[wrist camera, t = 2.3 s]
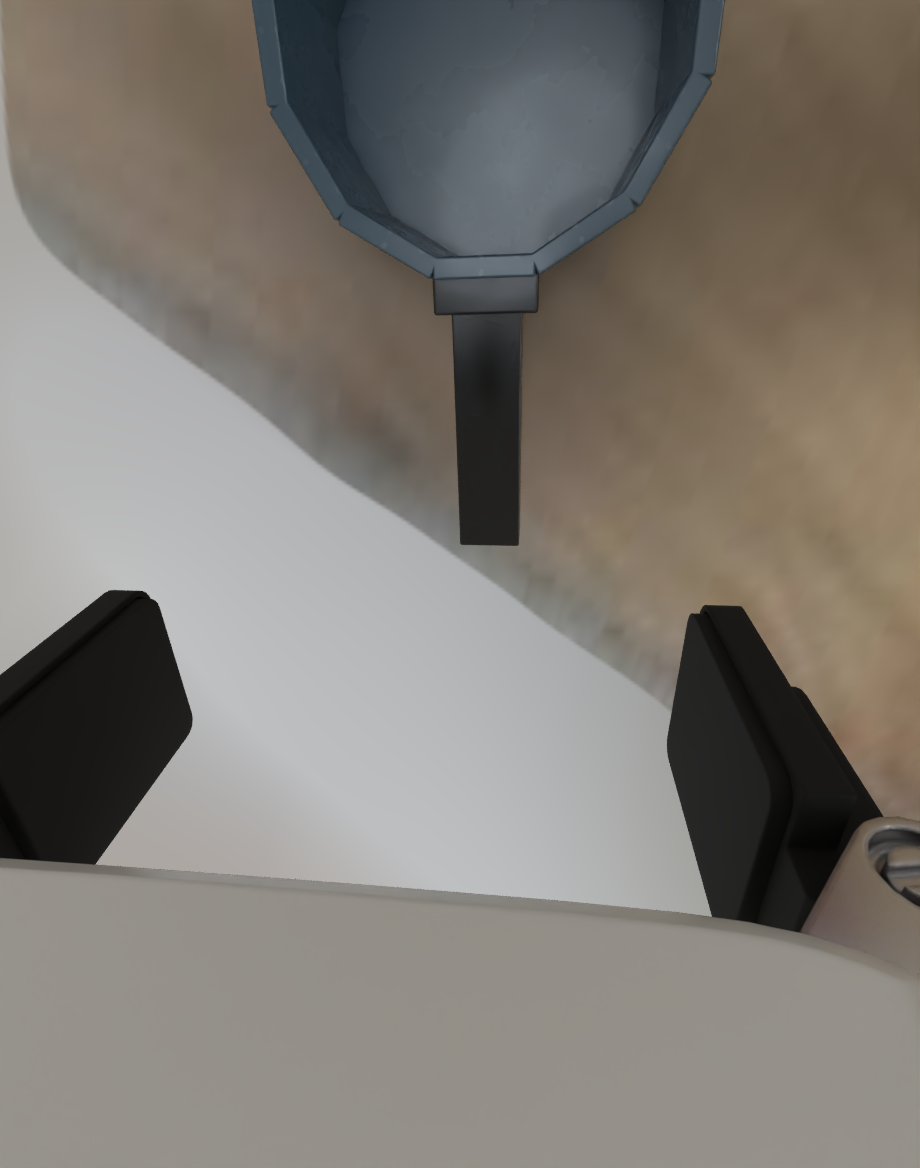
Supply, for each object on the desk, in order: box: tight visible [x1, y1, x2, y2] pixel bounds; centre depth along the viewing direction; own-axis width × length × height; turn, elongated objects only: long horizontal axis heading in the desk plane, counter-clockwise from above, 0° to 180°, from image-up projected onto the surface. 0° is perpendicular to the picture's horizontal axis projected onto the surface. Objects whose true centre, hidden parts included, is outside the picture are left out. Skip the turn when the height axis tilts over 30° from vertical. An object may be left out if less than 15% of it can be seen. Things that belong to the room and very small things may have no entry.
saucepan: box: [252, 0, 725, 546], centre depth 20 cm, size 12×21×6 cm, turn 2°
